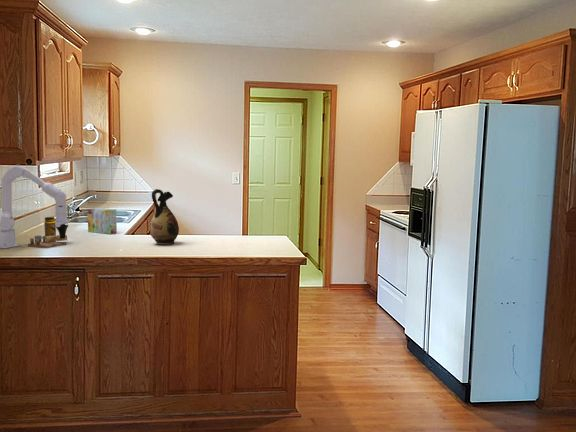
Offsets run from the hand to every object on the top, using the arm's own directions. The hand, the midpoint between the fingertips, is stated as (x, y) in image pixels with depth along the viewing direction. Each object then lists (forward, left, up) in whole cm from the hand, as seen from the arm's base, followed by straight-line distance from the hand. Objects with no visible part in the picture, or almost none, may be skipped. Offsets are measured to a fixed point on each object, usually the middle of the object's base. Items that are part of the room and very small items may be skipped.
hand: (62, 238), depth 314 cm
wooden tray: (-8, +3, -3) cm, 9 cm away
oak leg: (-1, +4, -1) cm, 5 cm away
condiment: (+13, +25, -3) cm, 29 cm away
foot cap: (-4, +14, -3) cm, 15 cm away
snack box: (+40, +10, -3) cm, 42 cm away
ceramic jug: (+22, -52, -3) cm, 56 cm away
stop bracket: (+2, +11, -3) cm, 12 cm away
